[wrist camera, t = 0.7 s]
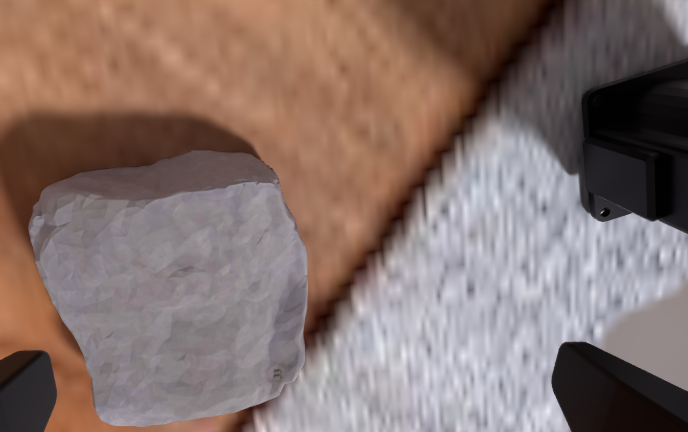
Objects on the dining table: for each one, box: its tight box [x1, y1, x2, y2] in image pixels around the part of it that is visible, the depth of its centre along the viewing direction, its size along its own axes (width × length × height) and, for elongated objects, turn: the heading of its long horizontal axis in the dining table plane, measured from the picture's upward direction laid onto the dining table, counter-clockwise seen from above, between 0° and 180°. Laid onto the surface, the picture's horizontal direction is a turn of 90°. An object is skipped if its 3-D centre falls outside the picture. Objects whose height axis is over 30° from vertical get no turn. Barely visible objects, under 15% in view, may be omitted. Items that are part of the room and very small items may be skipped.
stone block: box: [28, 150, 308, 427], centre depth 20 cm, size 12×5×10 cm
